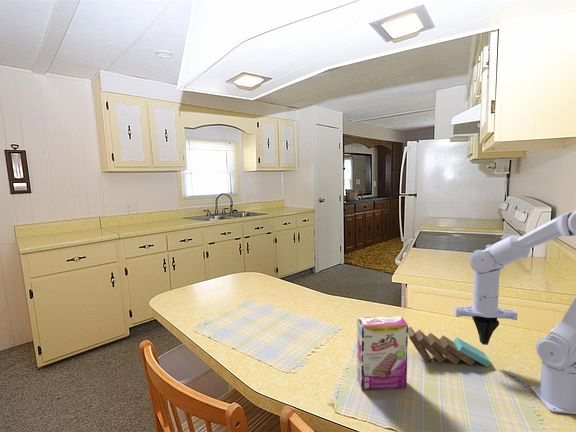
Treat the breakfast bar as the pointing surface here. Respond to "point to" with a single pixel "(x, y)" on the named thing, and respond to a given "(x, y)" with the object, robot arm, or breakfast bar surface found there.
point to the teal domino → (471, 352)
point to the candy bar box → (382, 352)
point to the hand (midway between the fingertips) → (483, 342)
